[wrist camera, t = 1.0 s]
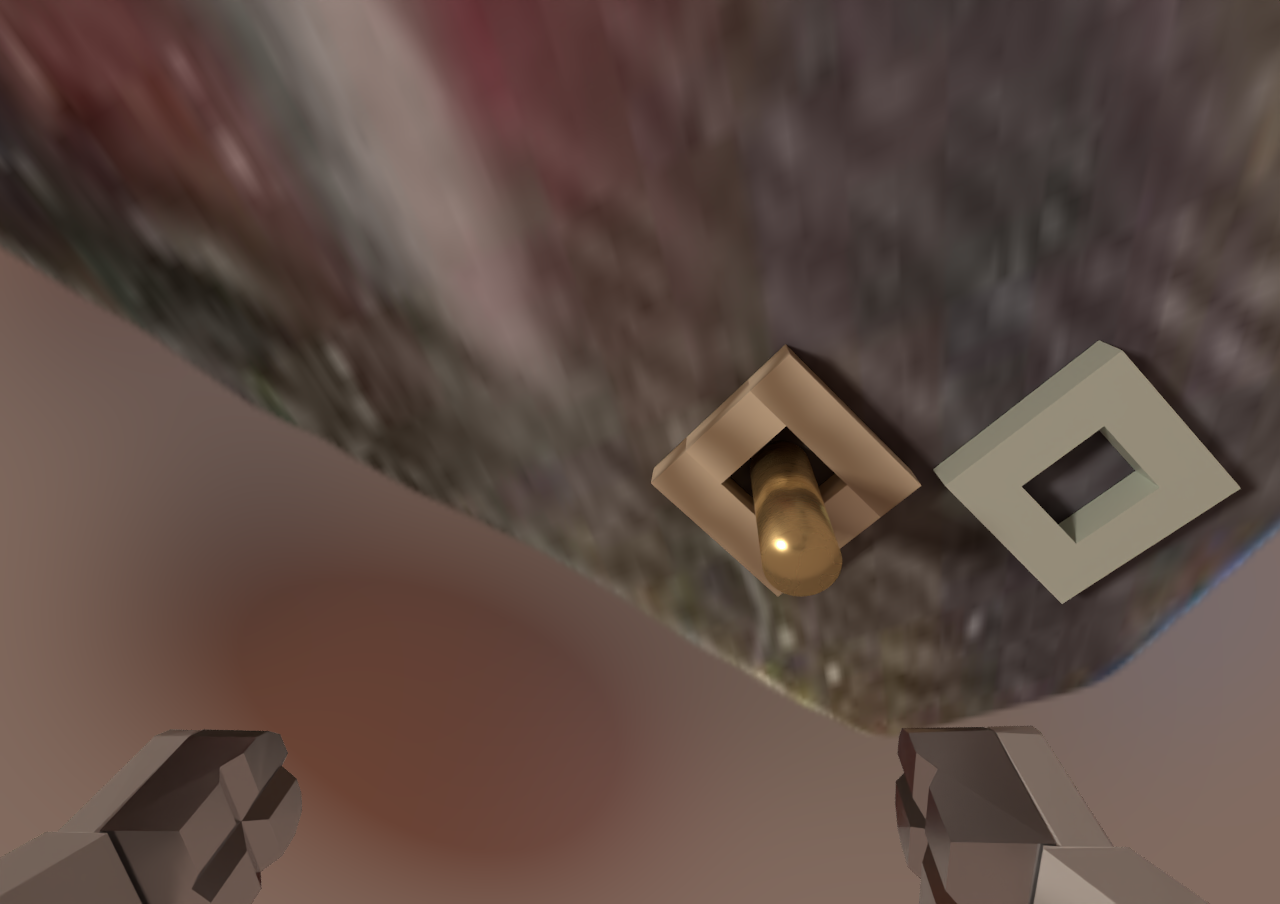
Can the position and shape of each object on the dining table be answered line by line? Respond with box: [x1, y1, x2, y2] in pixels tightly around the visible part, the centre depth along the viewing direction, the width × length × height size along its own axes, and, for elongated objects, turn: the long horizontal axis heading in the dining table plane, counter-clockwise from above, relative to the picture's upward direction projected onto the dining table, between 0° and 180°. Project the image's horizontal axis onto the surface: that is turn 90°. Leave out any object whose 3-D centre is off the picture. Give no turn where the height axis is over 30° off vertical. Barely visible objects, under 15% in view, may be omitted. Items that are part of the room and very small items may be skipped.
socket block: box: [933, 341, 1241, 604], centre depth 42 cm, size 12×12×2 cm
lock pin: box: [750, 441, 842, 596], centre depth 40 cm, size 4×4×12 cm
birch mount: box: [651, 344, 921, 596], centre depth 44 cm, size 12×12×2 cm
